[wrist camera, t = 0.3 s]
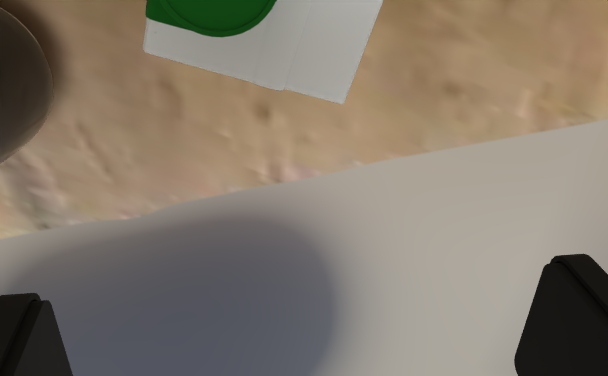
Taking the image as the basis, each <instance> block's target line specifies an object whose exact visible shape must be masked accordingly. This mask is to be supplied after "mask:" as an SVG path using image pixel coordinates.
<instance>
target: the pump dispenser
mask: <svg viewBox="0 0 608 376" xmlns="http://www.w3.org/2000/svg"><path fill="white" fill-rule="evenodd" d="M53 91H54V90H53V79H52V74H51V70H50V67H49V64H48V62H47V59H46V57H45V55H44V53H43V51H42V49H41V47H40V45H39V43H38V42H37V40H36V39H35V37H34V36H33V35H32V33H31V32H30V31H29V30H28V29H27V28H26V27H25V26H24V25H23V24H22V23H21V22H20V21H19V20H18V19H17V18H15V17H14V16H13V15H11V14H10V13H9V12H7V11H6V10H4V9H2V8H1V7H0V164H1V163H2V162H4V161H5V160H7V159H8V158H9V157H11V156H12V155H13V154H15V153H16V152H17V151H19V150H20V149H21V148H22V147H24V146H25V145H26V144H27V143H28V142H29V141H30V140H31V139H32V138H33V137H34V136H35V135H36V134H37V133H38V131H39V130H40V129H41V127H42V126H43V124H44V123H45V121H46V119H47V117H48V115H49V113H50V110H51V107H52V102H53Z"/></svg>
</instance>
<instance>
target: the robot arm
mask: <svg viewBox="0 0 608 376" xmlns="http://www.w3.org/2000/svg"><path fill="white" fill-rule="evenodd" d="M514 361H515V368H516V372H517V374H518V376H608V274H607V273H606V272H605V271H604V270H603V269H602V268H601V267H600V266H599V265H598V264H597V263H596V262H595V261H594V260H593V259H592V258H591V257H590V256H589V255H586V254H574V255H561V256H555V257H554V258H553V259H552V260H551V262H550V264H547V265H545V267H544V268H543V271H542V275H541V277H540V280H539V283H538V287H537V290H536V293H535V296H534V299H533V302H532V305H531V308H530V311H529V314H528V317H527V320H526V323H525V327H524V330H523V333H522V336H521V339H520V342H519V345H518V348H517V352H516V354H515V359H514ZM0 376H73V374H72V371H71V368H70V365H69V361H68V358H67V355H66V351H65V348H64V345H63V342H62V338H61V335H60V332H59V328H58V325H57V322H56V319H55V315H54V312H53V309H52V305H51V303H50V302H49V301H47V300H46V301H41V299H40V297H39V295H38V294H36V293H27V294H14V295H13V294H12V295H1V296H0Z"/></svg>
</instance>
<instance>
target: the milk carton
mask: <svg viewBox="0 0 608 376" xmlns="http://www.w3.org/2000/svg"><path fill="white" fill-rule="evenodd" d="M382 2H383V0H147V5H146V17H147V20H146V27H145V34H144V41H143V50H144V51H145V52H146V53H148V54H152V55H155V56H159V57H162V58H166V59H170V60H173V61H177V62H180V63H184V64H187V65H191V66H194V67H198V68H202V69H205V70H209V71H212V72H216V73H220V74H223V75H227V76H230V77H234V78H237V79H241V80H245V81H249V82H252V83H254V84H256V85H259V86H262V87H266V88H270V89H274V90H278V91H283V89H286V90H290V91H294V92H298V93H301V94H305V95H309V96H312V97H316V98H320V99H324V100H327V101H331V102H335V103H339V104H344V102H345V99H346V97H347V94H348V91H349V89H350V86H351V84H352V81H353V78H354V76H355V73H356V70H357V68H358V65H359V63H360V60H361V57H362V55H363V52H364V49H365V47H366V44H367V42H368V39H369V36H370V34H371V31H372V28H373V26H374V23H375V21H376V18H377V15H378V13H379V10H380V8H381V5H382Z"/></svg>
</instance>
